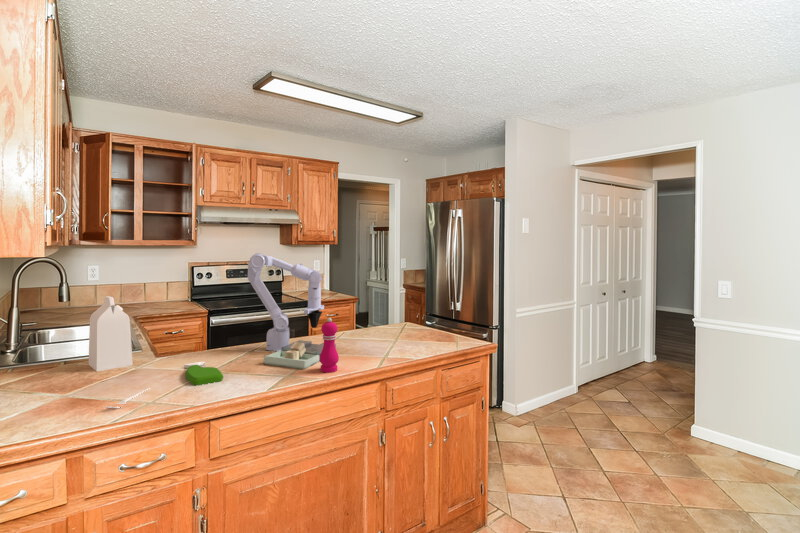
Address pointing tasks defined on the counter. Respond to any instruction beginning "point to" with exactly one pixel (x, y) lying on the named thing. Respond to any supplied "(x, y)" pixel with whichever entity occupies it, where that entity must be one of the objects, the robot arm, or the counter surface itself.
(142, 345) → the counter surface
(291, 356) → the birch block front
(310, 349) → the slotted plate
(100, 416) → the counter surface
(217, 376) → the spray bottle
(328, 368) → the pepper mill
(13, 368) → the counter surface
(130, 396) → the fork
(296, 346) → the birch block rear
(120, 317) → the milk
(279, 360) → the tray
